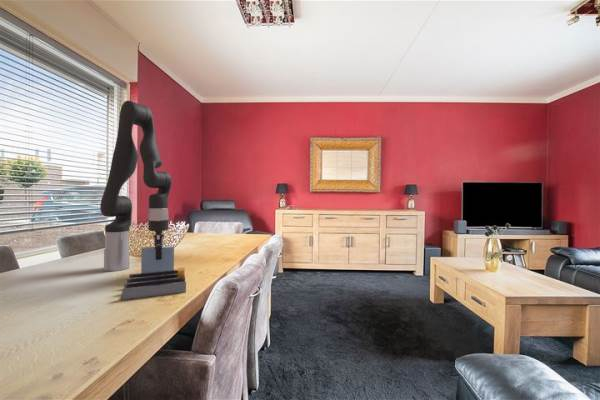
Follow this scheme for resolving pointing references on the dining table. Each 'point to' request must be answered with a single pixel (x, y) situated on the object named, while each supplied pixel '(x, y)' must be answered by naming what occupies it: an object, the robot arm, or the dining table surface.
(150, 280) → the rack
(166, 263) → the panel
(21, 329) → the dining table surface
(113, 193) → the robot arm
